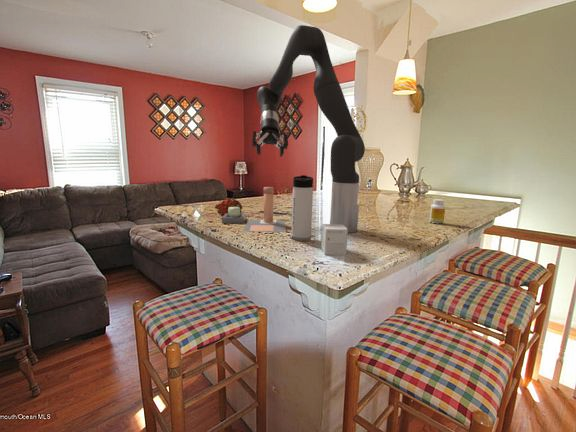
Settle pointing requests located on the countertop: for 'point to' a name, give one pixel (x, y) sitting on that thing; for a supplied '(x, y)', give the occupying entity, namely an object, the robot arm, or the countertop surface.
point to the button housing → (233, 219)
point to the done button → (234, 212)
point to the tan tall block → (268, 204)
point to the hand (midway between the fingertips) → (270, 154)
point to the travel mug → (302, 208)
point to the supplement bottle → (437, 211)
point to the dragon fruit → (227, 205)
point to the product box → (334, 239)
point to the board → (264, 226)
